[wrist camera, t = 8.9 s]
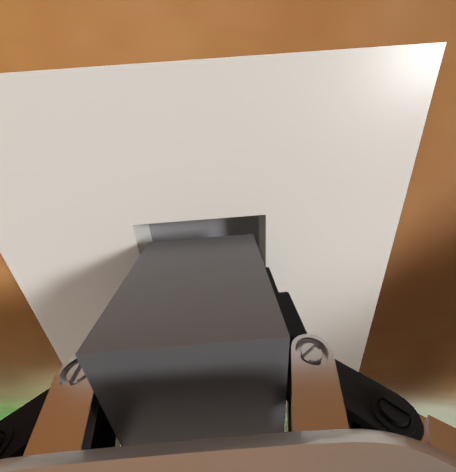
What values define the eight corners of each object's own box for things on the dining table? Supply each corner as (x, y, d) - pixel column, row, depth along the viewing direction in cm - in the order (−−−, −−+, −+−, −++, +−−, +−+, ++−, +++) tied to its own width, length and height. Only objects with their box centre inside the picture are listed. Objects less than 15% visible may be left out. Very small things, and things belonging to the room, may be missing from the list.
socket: (389, 65, 11) (462, 35, 8) (336, 348, 19) (360, 391, 16) (-17, 94, 11) (-119, 75, 8) (104, 367, 19) (81, 415, 16)
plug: (249, 224, 12) (289, 337, 5) (252, 311, 14) (281, 462, 8) (155, 232, 12) (74, 354, 5) (174, 318, 14) (136, 475, 8)
